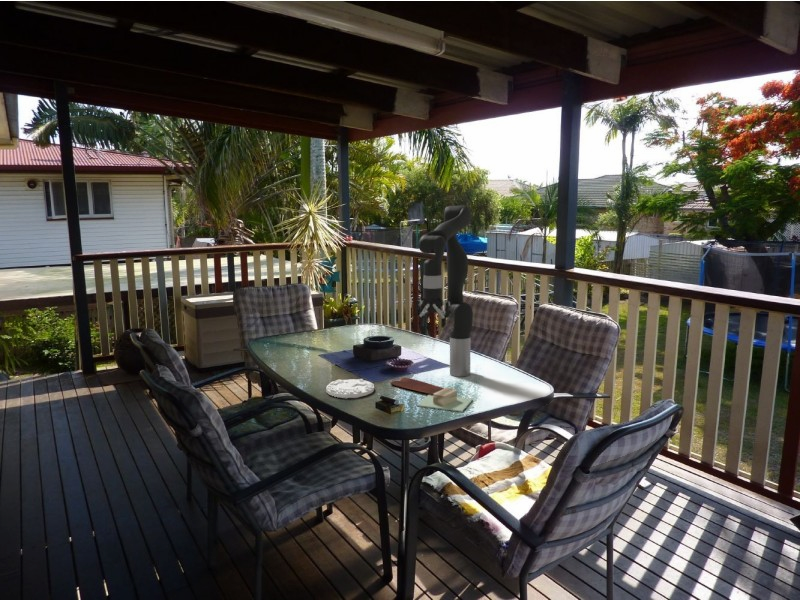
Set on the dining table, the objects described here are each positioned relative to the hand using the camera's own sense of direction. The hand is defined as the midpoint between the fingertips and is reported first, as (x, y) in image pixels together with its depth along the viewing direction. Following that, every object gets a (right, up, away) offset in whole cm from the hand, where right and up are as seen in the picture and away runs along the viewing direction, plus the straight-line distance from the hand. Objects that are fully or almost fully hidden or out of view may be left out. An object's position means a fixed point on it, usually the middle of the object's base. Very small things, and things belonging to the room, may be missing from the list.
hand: (433, 326), depth 232 cm
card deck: (+4, -29, -7) cm, 30 cm away
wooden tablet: (-5, -27, +11) cm, 29 cm away
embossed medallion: (-34, -28, +11) cm, 45 cm away
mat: (+4, -30, -7) cm, 31 cm away
